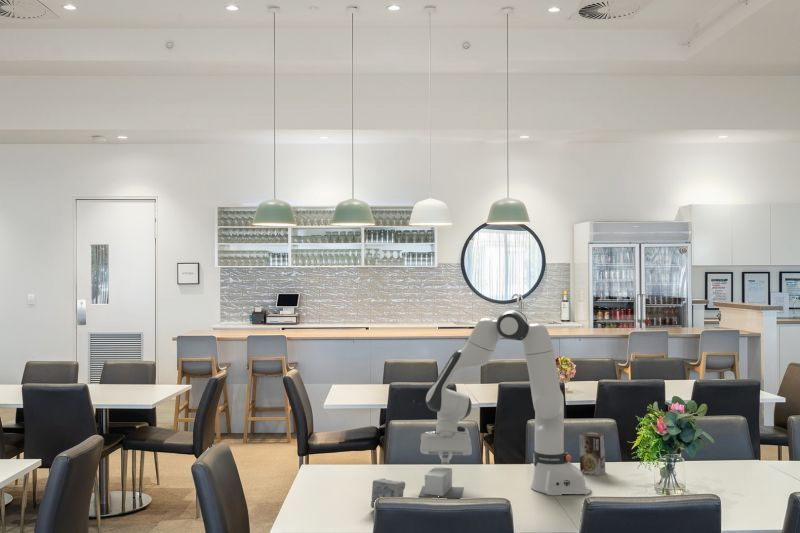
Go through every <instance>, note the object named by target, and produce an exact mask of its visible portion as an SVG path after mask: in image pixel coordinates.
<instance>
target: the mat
mask: <svg viewBox="0 0 800 533" xmlns="http://www.w3.org/2000/svg"><path fill="white" fill-rule="evenodd" d="M463 493H464V486H452V487H451V488H450V489H449V490H448V491H447V492H446V493H445V494H444V495H443V496H439V497H442V498H441V499H454V498H462V499H463ZM427 497H438V495H428V494H425V485H422V487H421V489H420V490H419V494H418V498H427Z"/></svg>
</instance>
